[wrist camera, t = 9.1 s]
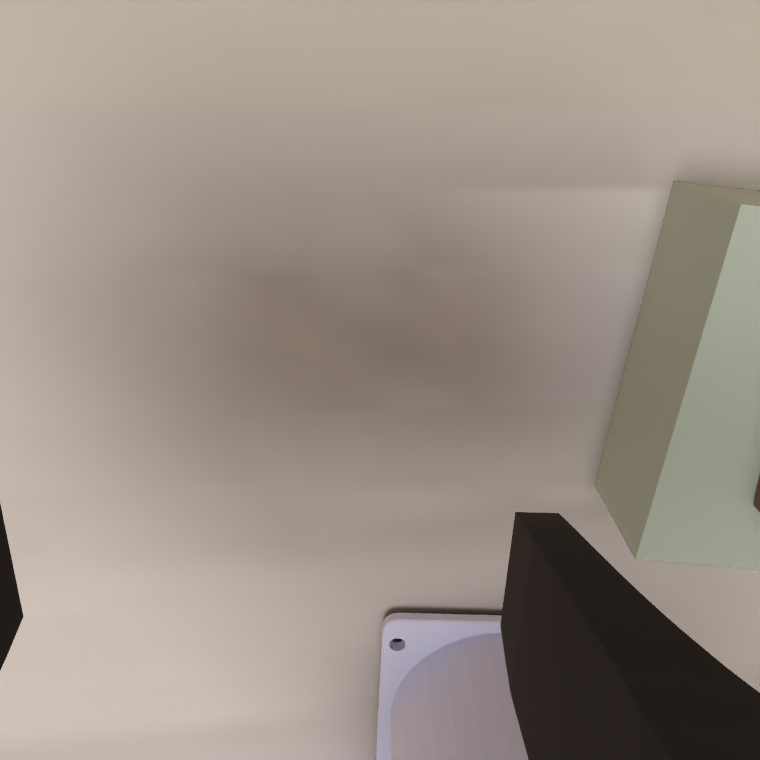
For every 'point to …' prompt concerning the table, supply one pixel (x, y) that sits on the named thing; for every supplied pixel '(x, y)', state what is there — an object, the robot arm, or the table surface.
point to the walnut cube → (757, 498)
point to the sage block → (693, 390)
